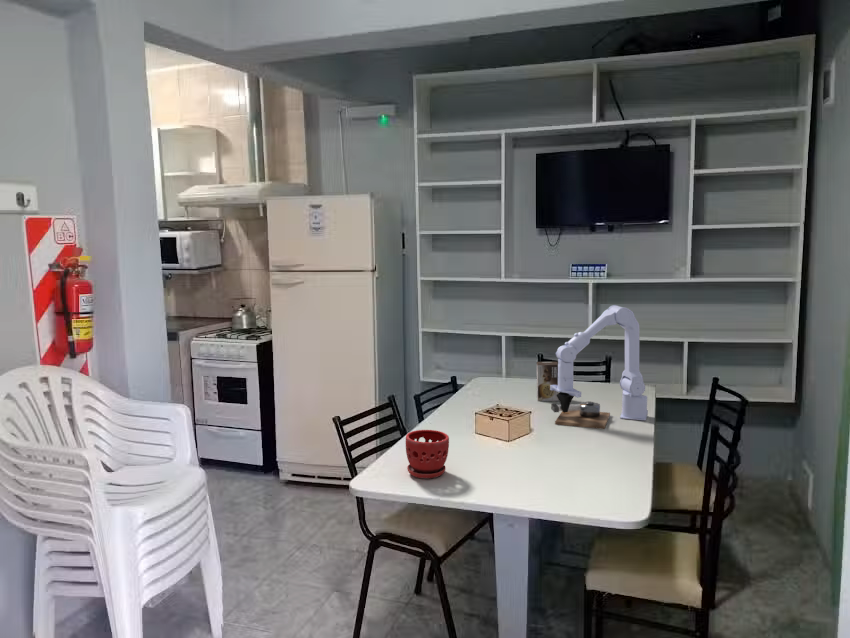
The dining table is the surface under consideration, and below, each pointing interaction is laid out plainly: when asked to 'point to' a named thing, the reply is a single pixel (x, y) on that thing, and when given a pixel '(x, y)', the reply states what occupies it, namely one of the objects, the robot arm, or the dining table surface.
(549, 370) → the brown rectangular box
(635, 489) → the dining table surface
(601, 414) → the board
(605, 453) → the dining table surface
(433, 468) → the plant pot
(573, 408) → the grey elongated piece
